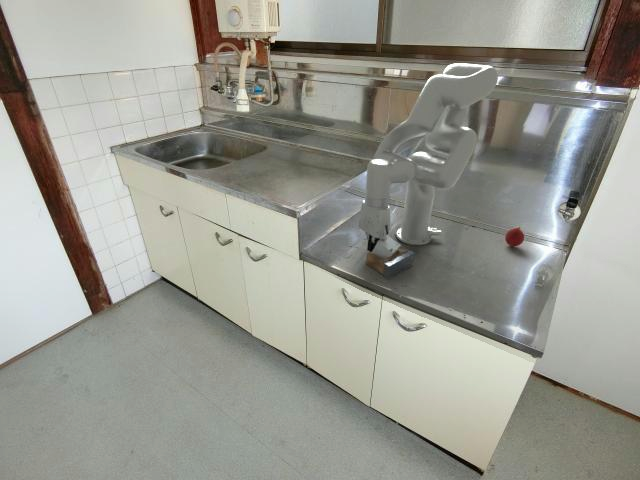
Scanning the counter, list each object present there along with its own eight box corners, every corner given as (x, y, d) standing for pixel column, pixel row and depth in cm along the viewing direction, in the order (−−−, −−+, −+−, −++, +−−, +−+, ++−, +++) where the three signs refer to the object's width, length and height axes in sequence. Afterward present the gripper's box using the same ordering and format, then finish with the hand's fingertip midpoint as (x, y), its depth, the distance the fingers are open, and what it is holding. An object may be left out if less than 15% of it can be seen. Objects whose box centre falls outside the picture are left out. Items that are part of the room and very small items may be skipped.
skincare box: (377, 249, 122) (386, 233, 117) (392, 260, 120) (401, 244, 116) (368, 257, 118) (377, 241, 113) (383, 268, 116) (393, 252, 111)
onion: (516, 252, 125) (522, 232, 120) (499, 246, 128) (505, 226, 124) (523, 247, 128) (530, 227, 124) (507, 240, 132) (513, 221, 128)
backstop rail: (382, 276, 112) (384, 263, 110) (407, 263, 119) (409, 250, 116) (387, 279, 111) (389, 266, 108) (412, 265, 118) (414, 252, 115)
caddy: (365, 263, 118) (367, 250, 116) (387, 252, 124) (388, 240, 121) (384, 275, 113) (386, 261, 110) (406, 263, 118) (408, 250, 116)
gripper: (352, 195, 115) (349, 244, 124) (385, 211, 105) (379, 264, 114) (369, 189, 119) (365, 238, 128) (403, 205, 108) (396, 256, 118)
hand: (372, 250), depth 121 cm, fingers closed
